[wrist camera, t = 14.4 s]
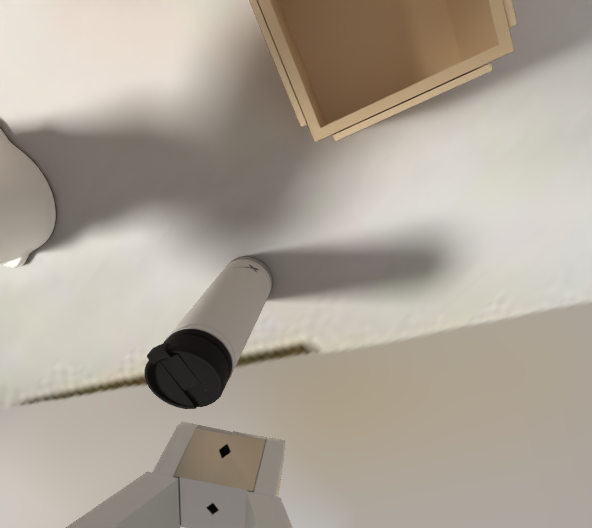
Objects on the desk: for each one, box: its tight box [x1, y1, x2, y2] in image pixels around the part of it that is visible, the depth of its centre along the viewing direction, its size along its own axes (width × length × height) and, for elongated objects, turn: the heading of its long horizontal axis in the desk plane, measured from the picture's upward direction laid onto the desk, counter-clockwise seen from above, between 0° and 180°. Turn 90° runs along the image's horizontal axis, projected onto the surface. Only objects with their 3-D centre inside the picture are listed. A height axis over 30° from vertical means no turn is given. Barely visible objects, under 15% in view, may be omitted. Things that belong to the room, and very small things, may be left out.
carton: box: [249, 0, 517, 142], centre depth 30 cm, size 16×16×10 cm
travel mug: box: [145, 257, 273, 409], centre depth 37 cm, size 6×7×20 cm
